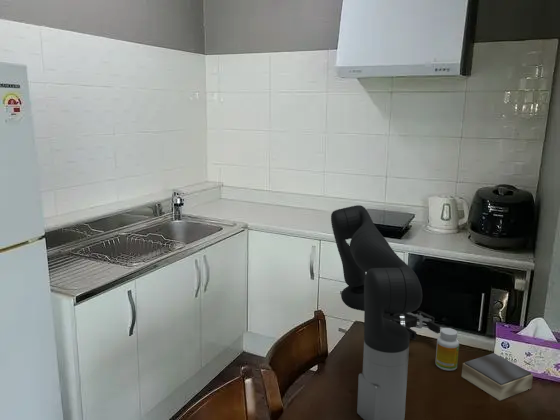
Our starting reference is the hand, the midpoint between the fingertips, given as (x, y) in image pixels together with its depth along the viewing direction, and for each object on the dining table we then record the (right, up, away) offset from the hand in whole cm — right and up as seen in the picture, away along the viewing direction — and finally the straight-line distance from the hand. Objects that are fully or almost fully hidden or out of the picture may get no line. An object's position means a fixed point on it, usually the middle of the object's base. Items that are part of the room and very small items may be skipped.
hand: (427, 333), depth 123 cm
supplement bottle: (+3, -7, -5) cm, 9 cm away
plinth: (+13, -9, -13) cm, 20 cm away
